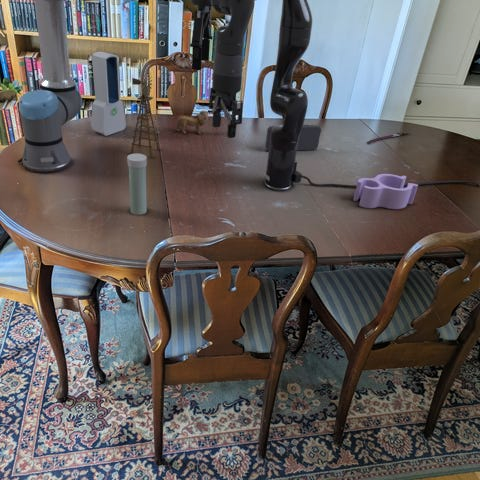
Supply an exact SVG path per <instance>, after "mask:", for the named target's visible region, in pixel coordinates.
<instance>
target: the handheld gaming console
mask: <svg viewBox="0 0 480 480" xmlns="http://www.w3.org/2000/svg"><path fill="white" fill-rule="evenodd" d="M275 126H276V125H270V126H268V127H267V130H266V139H265V145H264V146H265V150H267V151H268V152H269V147H270V139H271V131H272V128H273V127H275ZM321 133H322V127H321V126H319V125H318V124H303V129H302V131H301V133H300V136H299V140H298V146H297V151H312V150H317V148H318V147H319V144H320V137H321Z"/></svg>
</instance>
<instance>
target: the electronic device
mask: <svg viewBox="0 0 480 480" xmlns="http://www.w3.org/2000/svg"><path fill="white" fill-rule="evenodd" d="M91 59H92V61H91V63H92V74H93V75H92V76H93V89H94V101H93V102H92V103H91V116H90V117H91V118H90V126H91V129H92V131H94V133H96V134H99V135H102V136H105V137H107V136H110V135H112V134H113V135H114V134H117V133H119V132H121V131H124V130H125V129H126V127H127V123H126V114H125V107H124V102H123V101H122V100H121V91H120V70H119V69H120V68H119V56H118V55H115V54H112V53H109V52H104V51H96V52H94V53H93V54H91Z"/></svg>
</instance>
